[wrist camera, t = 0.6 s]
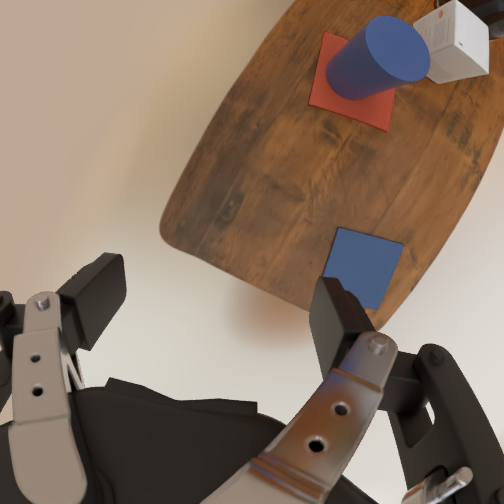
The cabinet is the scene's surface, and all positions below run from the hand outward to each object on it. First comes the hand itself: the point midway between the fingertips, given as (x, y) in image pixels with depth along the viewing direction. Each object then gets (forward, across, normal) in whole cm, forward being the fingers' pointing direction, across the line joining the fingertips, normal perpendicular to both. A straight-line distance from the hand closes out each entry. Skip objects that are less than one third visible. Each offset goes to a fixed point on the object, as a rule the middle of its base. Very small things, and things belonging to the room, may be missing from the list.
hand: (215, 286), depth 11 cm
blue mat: (+22, -16, +8) cm, 28 cm away
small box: (+22, -22, -23) cm, 39 cm away
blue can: (+21, -11, -15) cm, 28 cm away
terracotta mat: (+22, -12, -15) cm, 29 cm away
